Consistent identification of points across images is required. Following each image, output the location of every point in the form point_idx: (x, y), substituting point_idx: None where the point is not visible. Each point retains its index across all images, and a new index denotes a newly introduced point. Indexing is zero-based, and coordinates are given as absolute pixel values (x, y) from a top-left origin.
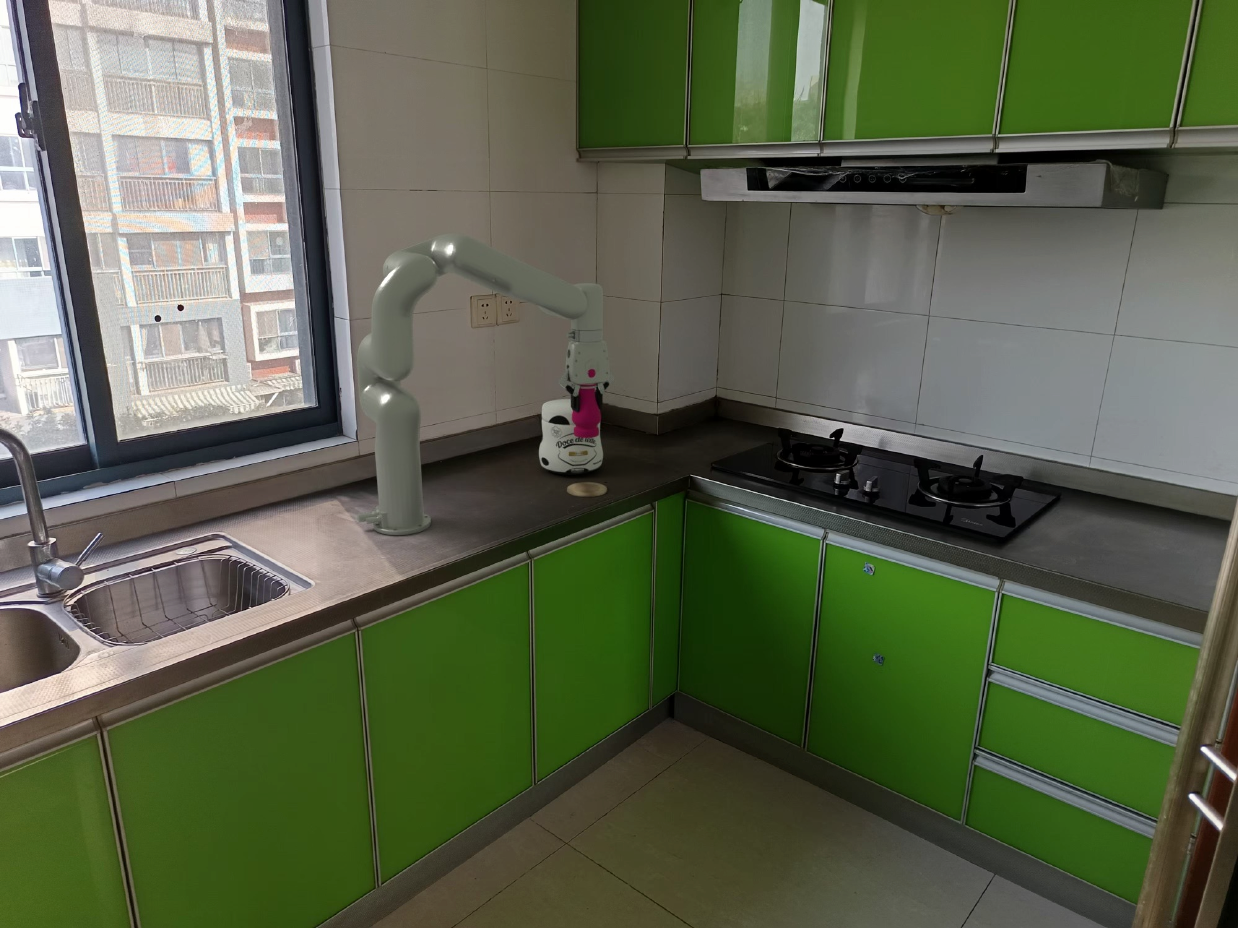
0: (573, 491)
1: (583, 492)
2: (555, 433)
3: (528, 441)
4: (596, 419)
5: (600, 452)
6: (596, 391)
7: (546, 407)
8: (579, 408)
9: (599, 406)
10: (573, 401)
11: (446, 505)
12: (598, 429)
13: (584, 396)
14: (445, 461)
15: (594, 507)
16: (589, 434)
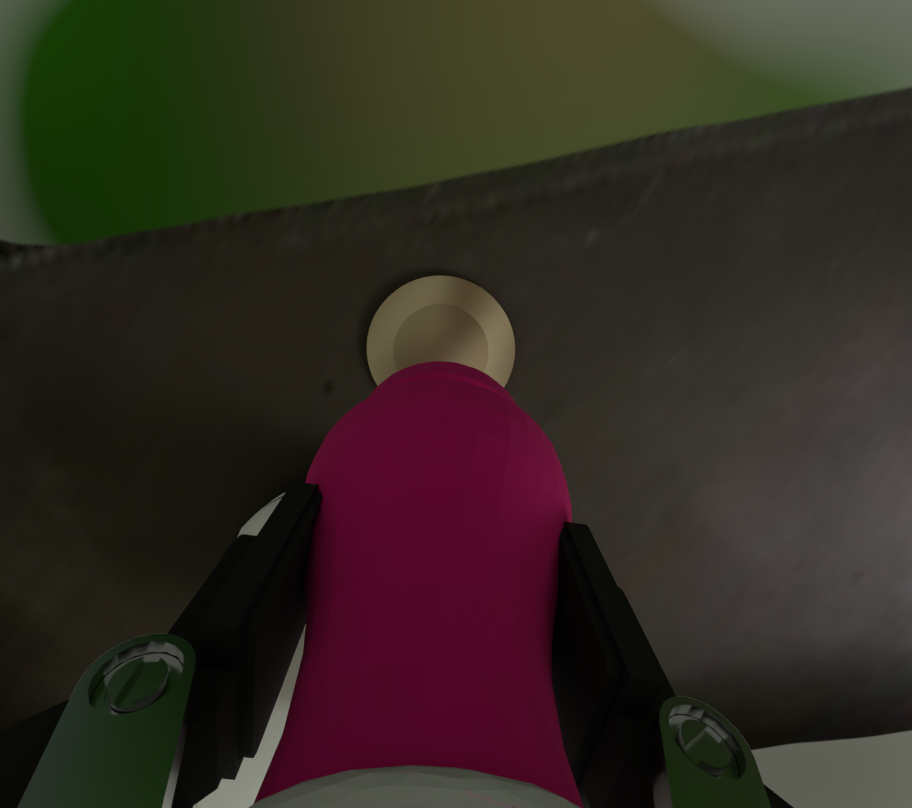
0: (501, 354)
1: (480, 322)
2: None
3: None
4: (416, 390)
5: (259, 521)
6: (225, 744)
7: None
8: (566, 546)
9: (307, 505)
10: (649, 649)
11: (869, 487)
12: (380, 390)
13: (531, 658)
14: None
15: (537, 170)
16: (473, 374)
